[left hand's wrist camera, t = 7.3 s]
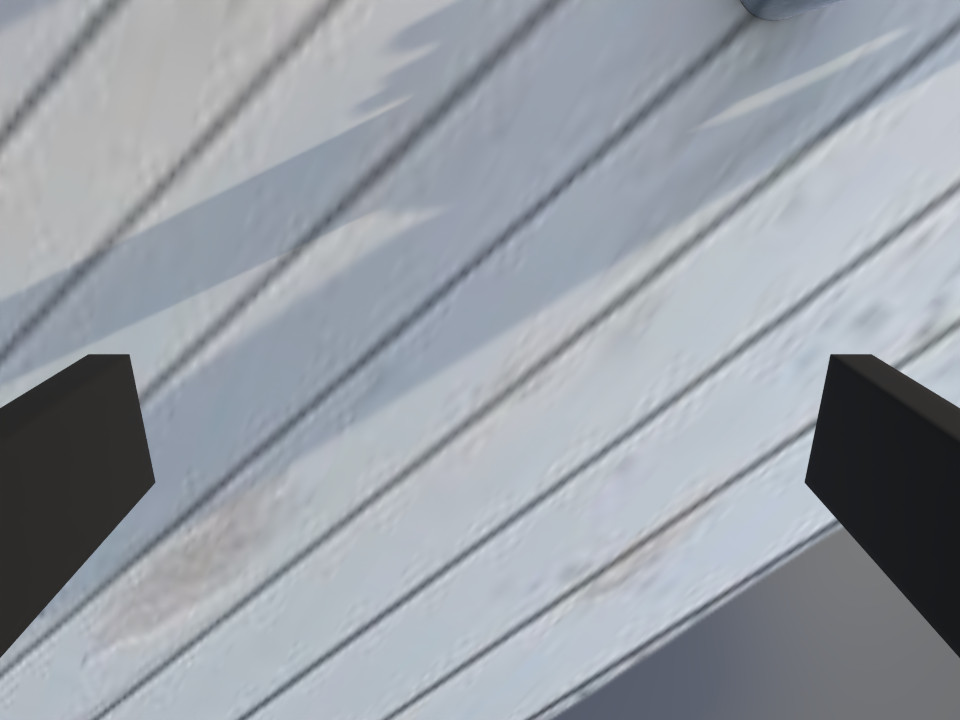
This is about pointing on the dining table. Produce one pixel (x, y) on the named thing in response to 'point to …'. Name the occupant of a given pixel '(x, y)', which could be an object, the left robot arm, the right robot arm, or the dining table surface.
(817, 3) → the bottle
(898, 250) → the dining table surface
